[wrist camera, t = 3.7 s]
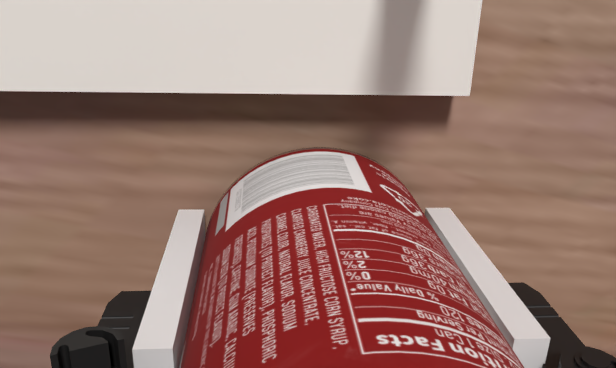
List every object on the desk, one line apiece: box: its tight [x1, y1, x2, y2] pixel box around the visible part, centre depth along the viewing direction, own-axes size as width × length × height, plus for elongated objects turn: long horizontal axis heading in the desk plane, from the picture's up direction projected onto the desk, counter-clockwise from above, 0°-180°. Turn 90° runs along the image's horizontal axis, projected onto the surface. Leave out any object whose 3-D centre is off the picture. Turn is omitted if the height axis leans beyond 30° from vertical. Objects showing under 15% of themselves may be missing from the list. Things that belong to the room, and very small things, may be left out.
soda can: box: [179, 147, 524, 368], centre depth 12 cm, size 7×7×12 cm
